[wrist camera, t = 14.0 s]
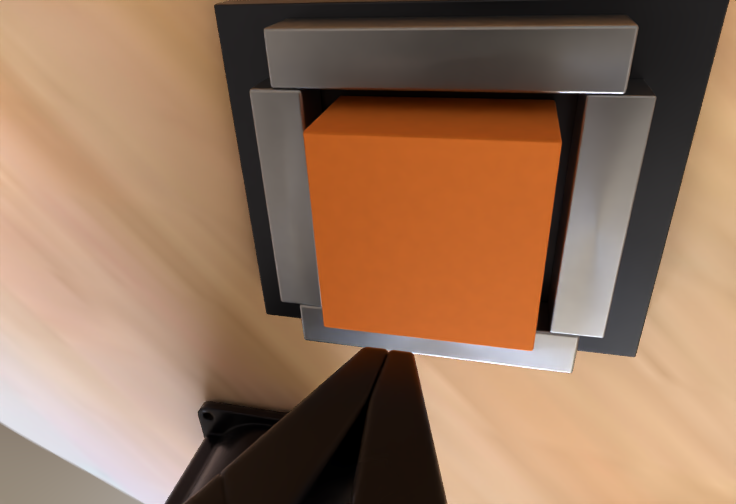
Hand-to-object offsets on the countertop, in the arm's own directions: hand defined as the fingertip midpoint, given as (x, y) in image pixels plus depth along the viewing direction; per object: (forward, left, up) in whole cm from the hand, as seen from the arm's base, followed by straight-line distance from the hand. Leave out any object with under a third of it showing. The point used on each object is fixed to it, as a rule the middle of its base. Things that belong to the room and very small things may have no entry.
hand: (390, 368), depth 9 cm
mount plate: (0, 0, -8) cm, 8 cm away
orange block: (0, 0, -7) cm, 7 cm away
